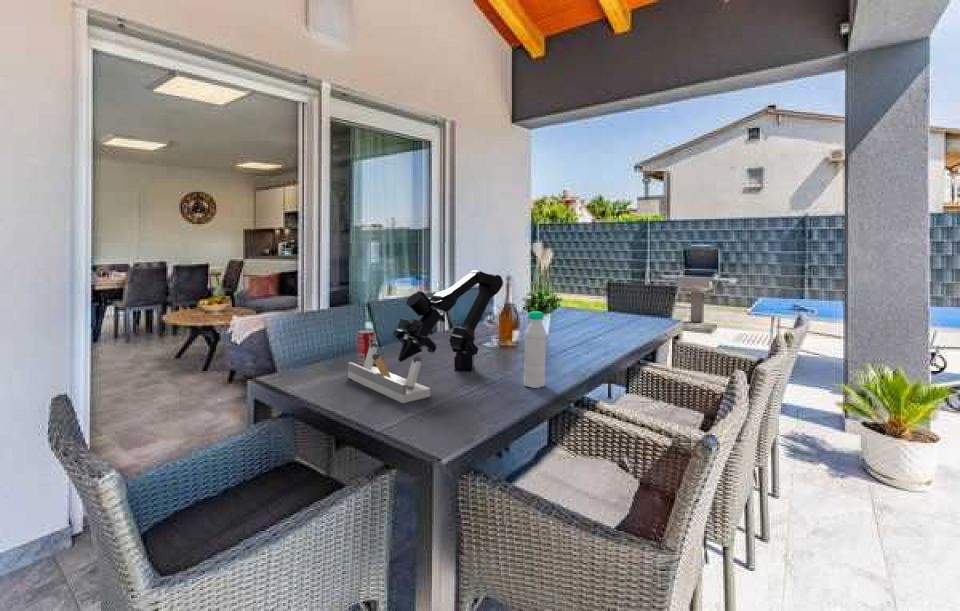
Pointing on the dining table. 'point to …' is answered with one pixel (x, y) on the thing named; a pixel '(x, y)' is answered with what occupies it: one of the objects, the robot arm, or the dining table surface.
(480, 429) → the dining table surface
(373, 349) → the cream lever
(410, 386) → the cream lever
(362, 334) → the soda can
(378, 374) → the switch panel
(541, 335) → the water bottle
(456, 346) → the robot arm
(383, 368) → the lever orange
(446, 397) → the dining table surface
